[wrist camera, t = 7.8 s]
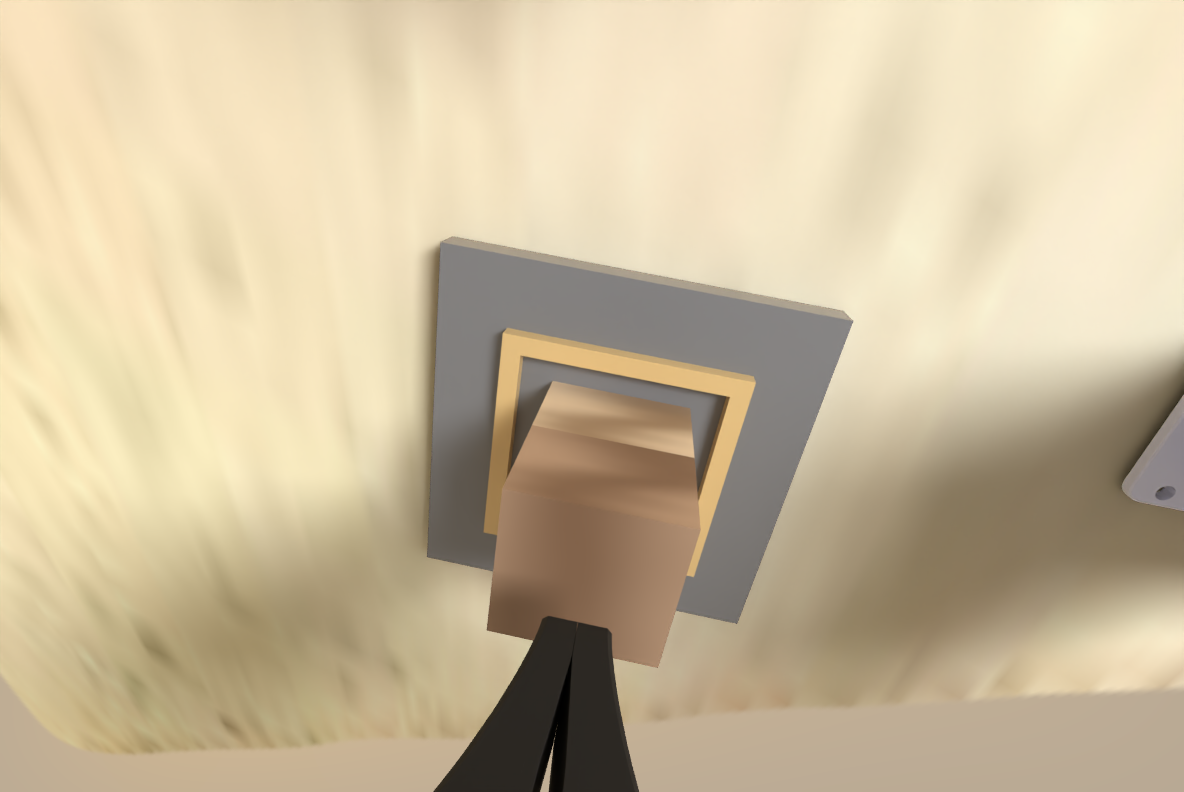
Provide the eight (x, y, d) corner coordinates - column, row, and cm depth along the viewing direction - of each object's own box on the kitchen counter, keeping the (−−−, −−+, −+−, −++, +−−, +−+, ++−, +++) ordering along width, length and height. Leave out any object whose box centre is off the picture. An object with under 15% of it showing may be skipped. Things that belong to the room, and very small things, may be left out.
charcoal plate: (843, 311, 17) (858, 326, 15) (734, 603, 22) (738, 634, 20) (452, 236, 17) (433, 245, 16) (436, 540, 22) (422, 566, 21)
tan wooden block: (690, 408, 17) (700, 529, 12) (660, 519, 19) (658, 668, 14) (552, 380, 18) (502, 488, 12) (536, 493, 20) (486, 630, 14)
